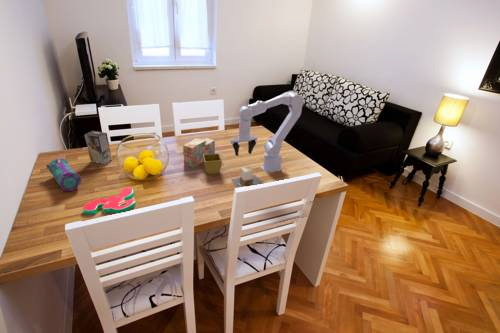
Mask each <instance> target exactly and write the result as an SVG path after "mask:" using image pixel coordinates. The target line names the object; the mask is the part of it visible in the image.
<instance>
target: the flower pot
mask: <svg viewBox="0 0 500 333" xmlns="http://www.w3.org/2000/svg"><path fill="white" fill-rule="evenodd" d="M203 159H204V161H203V164H204V167H205V171H206V173H207V175H218V174H219V172H221V168H222V163H223V162H222V157H221V155H220V153H219V152H218V153H215V154H204V155H203Z"/></svg>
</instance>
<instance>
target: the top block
mask: <svg viewBox="0 0 500 333" xmlns="http://www.w3.org/2000/svg"><path fill="white" fill-rule="evenodd" d="M253 175H254V169H252V168H251V167H250V166H249V165H248V166H244V167H243V166H242V167H240V176H239V178H240V177H241V178H242V179H243V180H244V181H246V180H251V179H252V178H253Z"/></svg>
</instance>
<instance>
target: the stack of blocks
mask: <svg viewBox="0 0 500 333" xmlns="http://www.w3.org/2000/svg"><path fill="white" fill-rule="evenodd" d="M215 144H216V143H215V139H211V138H208V137H206V138H203V139H201V138H199V137H198V138H197V137H196V138H194V139H192V140H190V141H189V142H187V143H185V144H183V145H182V148H183V151H182V153H183V165H184V166H186V167H190V168H192V169H193V168H195V167H197V166H199V165H200V164H201V163H204V159H203V155H204V154H216V145H215Z"/></svg>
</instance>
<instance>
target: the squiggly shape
mask: <svg viewBox="0 0 500 333" xmlns="http://www.w3.org/2000/svg"><path fill="white" fill-rule="evenodd" d="M134 195H135V194H134V189H133V188H132V187H130V186H128V187H124V188H122V190H120V192H119V194H118V195H112V196H109V197H108V198H107V197H105V198H97V199H95V200H92V201H89V202H88V203H86V204H85V205H83V206H82V212H83V214H85V215H95V214H97V213H98V210H100V209H102V213H103V214H104V213H105V214H107V213H114V214H121V213H120V212H123V213H125V212H124V211H126V212H128V211H130V210H132V209H133V208H134V207H135V206H136V200H135V199H132V197H133V196H134Z"/></svg>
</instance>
